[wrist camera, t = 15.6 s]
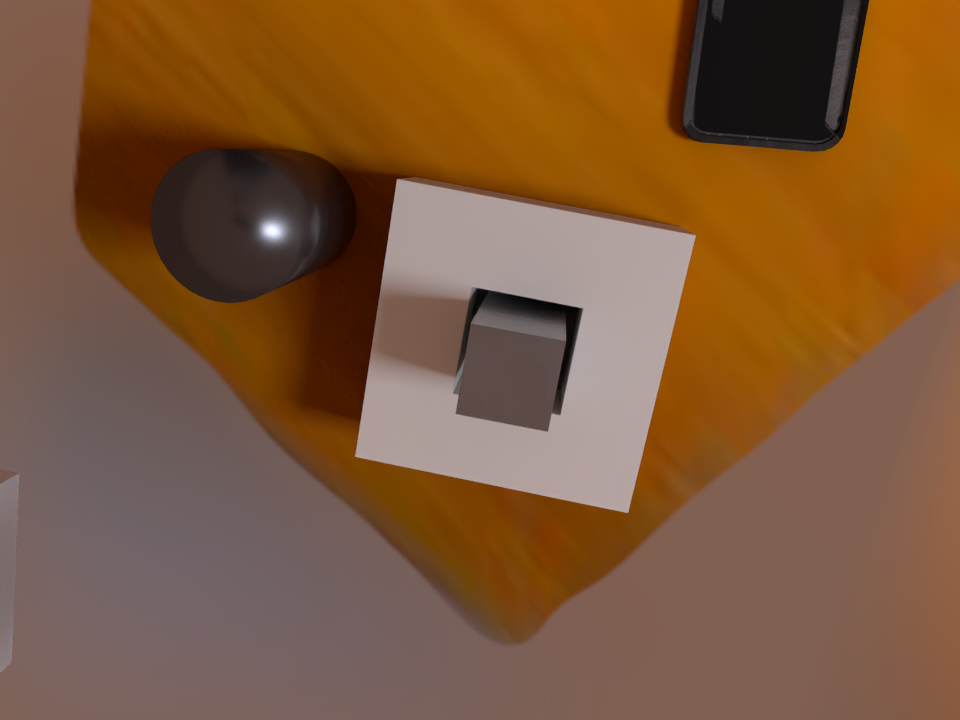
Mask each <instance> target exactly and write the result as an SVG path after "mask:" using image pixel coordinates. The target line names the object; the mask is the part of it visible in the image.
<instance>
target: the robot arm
mask: <svg viewBox="0 0 960 720" xmlns="http://www.w3.org/2000/svg"><path fill="white" fill-rule="evenodd" d="M18 489H19V473H15V472H11V471H6V470H1V469H0V673H1V672H2V671H3V670H4V669H5V668H6V667H7V666H8V665H9V664H10V663H11V661H12V637H13V612H14V611H13V610H14V587H15V562H16V538H17V514H18Z"/></svg>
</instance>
